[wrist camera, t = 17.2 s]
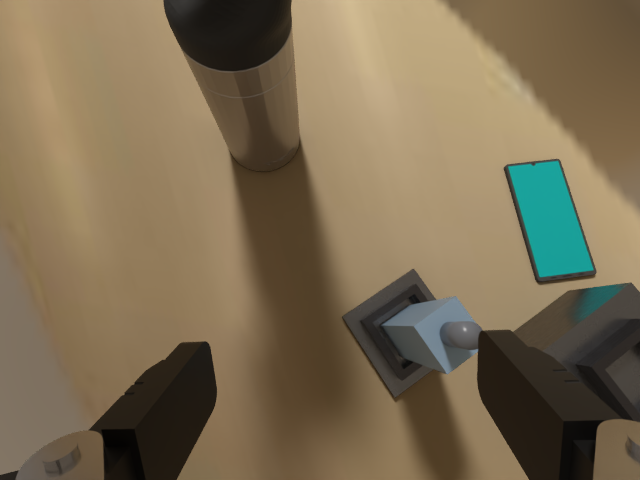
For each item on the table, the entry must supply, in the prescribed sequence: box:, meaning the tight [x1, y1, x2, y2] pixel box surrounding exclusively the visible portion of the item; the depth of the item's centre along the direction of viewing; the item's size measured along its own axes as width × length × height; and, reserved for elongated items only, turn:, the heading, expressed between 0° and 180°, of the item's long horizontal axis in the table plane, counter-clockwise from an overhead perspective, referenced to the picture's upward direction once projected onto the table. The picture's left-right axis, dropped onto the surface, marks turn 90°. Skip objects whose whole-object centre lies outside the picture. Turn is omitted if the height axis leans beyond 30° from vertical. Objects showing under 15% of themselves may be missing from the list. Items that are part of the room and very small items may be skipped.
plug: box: [380, 296, 483, 374], centre depth 30 cm, size 4×4×16 cm
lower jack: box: [342, 269, 436, 397], centre depth 37 cm, size 10×10×2 cm
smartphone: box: [504, 159, 596, 282], centre depth 42 cm, size 7×1×15 cm
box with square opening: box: [513, 283, 640, 422], centre depth 33 cm, size 12×12×10 cm
